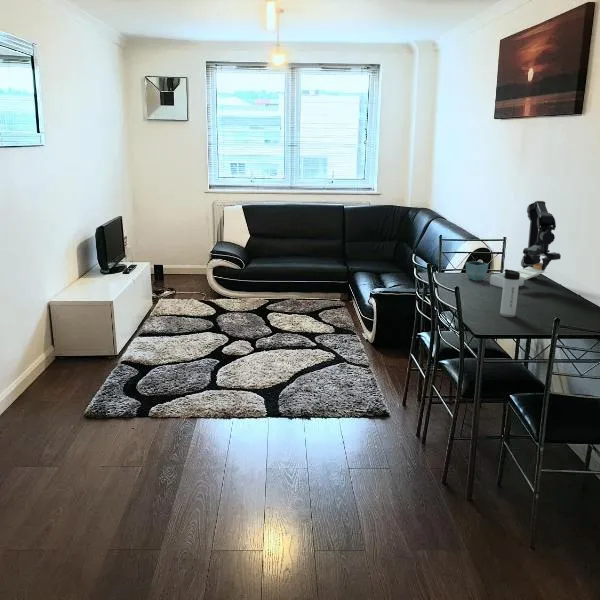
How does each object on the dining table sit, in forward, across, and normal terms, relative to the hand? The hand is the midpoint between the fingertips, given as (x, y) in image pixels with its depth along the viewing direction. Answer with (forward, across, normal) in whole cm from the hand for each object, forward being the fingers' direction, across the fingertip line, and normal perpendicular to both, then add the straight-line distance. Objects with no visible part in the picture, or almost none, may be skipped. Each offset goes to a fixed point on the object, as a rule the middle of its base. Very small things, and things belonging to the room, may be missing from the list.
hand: (539, 270), depth 313 cm
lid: (+1, 0, -7) cm, 7 cm away
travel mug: (+9, +26, -52) cm, 59 cm away
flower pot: (+10, -28, -15) cm, 33 cm away
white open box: (+9, -12, -9) cm, 18 cm away
